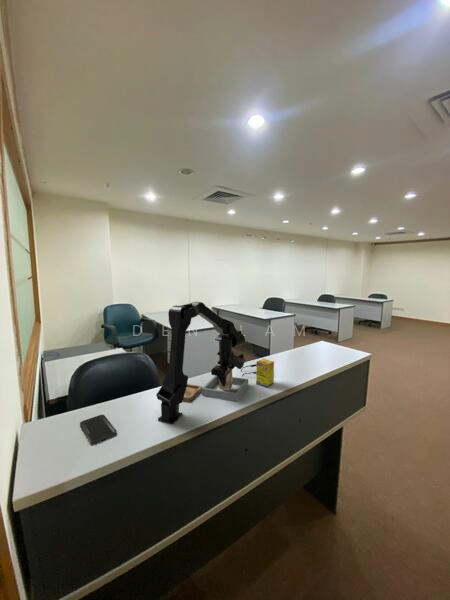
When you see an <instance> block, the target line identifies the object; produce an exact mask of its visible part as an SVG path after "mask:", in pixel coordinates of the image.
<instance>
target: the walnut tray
mask: <svg viewBox="0 0 450 600" xmlns="http://www.w3.org/2000/svg"><path fill="white" fill-rule="evenodd" d="M187 385H188V387H186V391H185V394H184V398H183V402H187V403H190V402H191V401H192V400H193V399H195V398H196V397H197V395H199V394H200V393H202V388H203V386H202V385H195V384H191V383H190V384H189V383H187Z"/></svg>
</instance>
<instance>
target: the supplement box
mask: <svg viewBox="0 0 450 600" xmlns="http://www.w3.org/2000/svg"><path fill="white" fill-rule="evenodd" d="M255 364H256V366H255V367H256V370H255V372H256V374H255V375H256V376H255V377H256V380H255V382H256V385H258V386H261V387H264V388H266V389H267V388H269V387H270V386H272V385H274V383H275V382H274V381H275V379H274V377H275V376H274V375H275V360H274V361H273V360H270V359H266V358H261V359H260V360H257V361H256V363H255Z"/></svg>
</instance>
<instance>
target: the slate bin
mask: <svg viewBox="0 0 450 600" xmlns="http://www.w3.org/2000/svg"><path fill="white" fill-rule="evenodd" d="M217 383H219V378H218V376H216V375H213V377H212V378H211V379H210V380H208V382H207V383H205V385H203V386H202V391H201V396H203V397H209V398H214V399H221V400H227V401H231V402H232V401H233V402H239V400H240V398H241V397H242V396H243V394H244V393H245V391H246V390H247V388H248V386H249V378H243V377H236V376H232V385H237V386H239V388H238V389H237V391H236V392H232V391H228V390H222V389H215V388H213V387H214V386H215V385H216V384H217Z"/></svg>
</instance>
